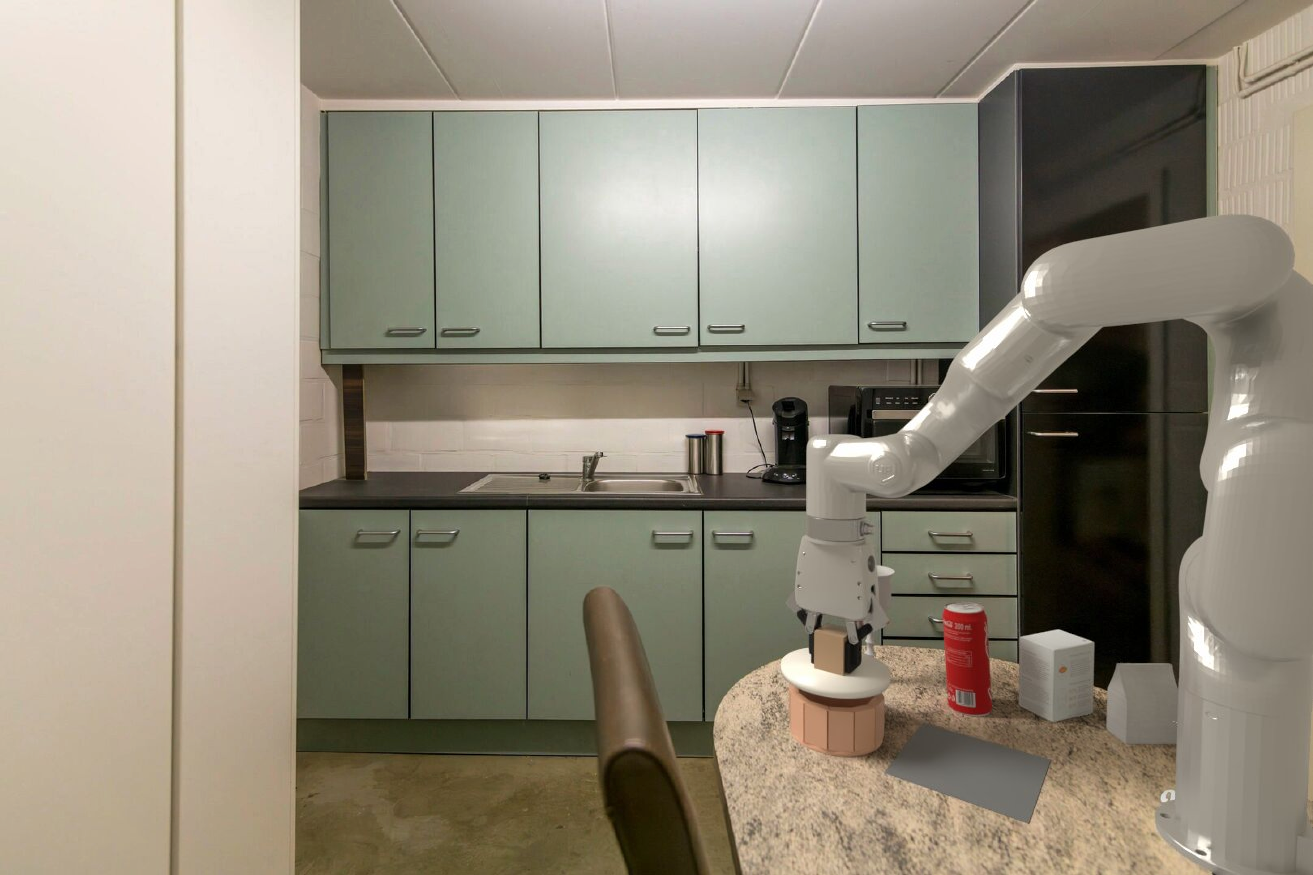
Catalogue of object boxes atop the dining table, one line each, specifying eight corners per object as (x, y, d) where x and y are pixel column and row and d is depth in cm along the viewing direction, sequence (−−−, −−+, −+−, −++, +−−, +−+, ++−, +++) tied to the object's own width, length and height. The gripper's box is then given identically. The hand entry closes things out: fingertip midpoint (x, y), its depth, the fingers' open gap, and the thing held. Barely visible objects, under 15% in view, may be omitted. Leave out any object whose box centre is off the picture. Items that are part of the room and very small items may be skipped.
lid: (905, 670, 87) (906, 626, 86) (866, 709, 76) (867, 659, 75) (809, 646, 95) (809, 606, 95) (761, 678, 84) (761, 633, 84)
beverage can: (997, 721, 89) (999, 614, 88) (947, 717, 90) (948, 611, 89) (984, 701, 95) (986, 600, 94) (937, 697, 96) (938, 598, 95)
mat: (1050, 762, 79) (1050, 759, 79) (1028, 826, 67) (1028, 822, 67) (923, 725, 88) (923, 722, 88) (884, 775, 76) (884, 772, 76)
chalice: (867, 670, 106) (867, 562, 105) (903, 684, 100) (904, 571, 99) (837, 681, 102) (837, 569, 101) (873, 697, 96) (874, 578, 95)
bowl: (895, 729, 87) (896, 686, 86) (862, 770, 77) (862, 721, 77) (813, 704, 94) (813, 664, 94) (773, 738, 85) (773, 694, 85)
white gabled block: (1180, 746, 82) (1182, 669, 81) (1125, 746, 82) (1128, 670, 81) (1158, 732, 85) (1160, 658, 85) (1106, 731, 86) (1108, 658, 85)
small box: (1057, 697, 96) (1058, 628, 95) (1094, 714, 90) (1096, 641, 90) (1016, 707, 93) (1018, 635, 92) (1052, 725, 88) (1054, 649, 87)
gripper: (910, 531, 82) (908, 672, 83) (790, 517, 93) (790, 642, 94) (889, 542, 76) (888, 692, 77) (765, 525, 87) (765, 658, 88)
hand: (834, 663), depth 85 cm, fingers closed on lid, 4 cm apart
